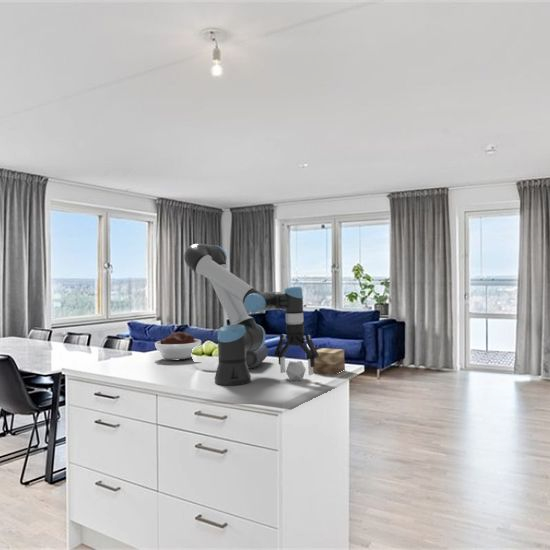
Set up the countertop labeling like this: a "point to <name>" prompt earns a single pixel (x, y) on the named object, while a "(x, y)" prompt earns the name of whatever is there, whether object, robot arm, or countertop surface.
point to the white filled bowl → (177, 346)
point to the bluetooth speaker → (256, 357)
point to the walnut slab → (329, 368)
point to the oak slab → (329, 356)
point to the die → (295, 370)
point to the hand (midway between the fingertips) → (296, 373)
